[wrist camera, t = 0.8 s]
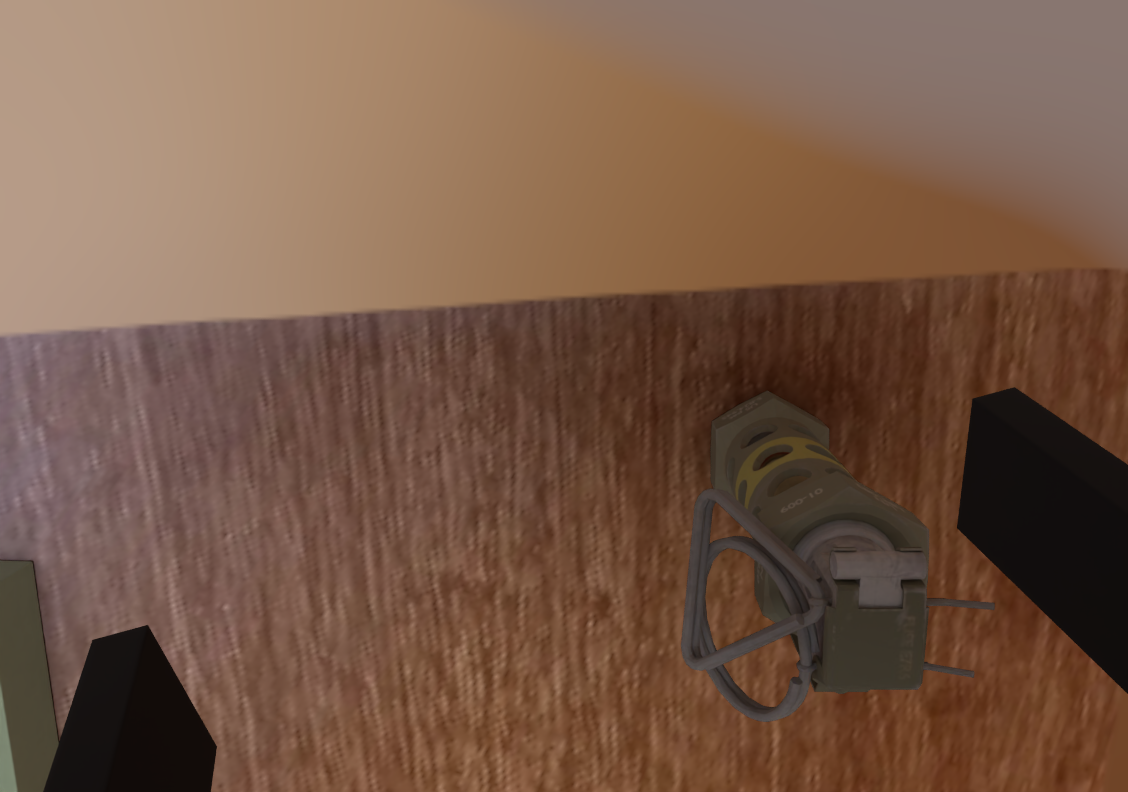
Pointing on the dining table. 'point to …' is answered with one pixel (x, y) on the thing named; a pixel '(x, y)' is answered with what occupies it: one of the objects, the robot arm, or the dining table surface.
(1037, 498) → the robot arm
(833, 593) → the grenade
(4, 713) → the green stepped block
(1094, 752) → the dining table surface
